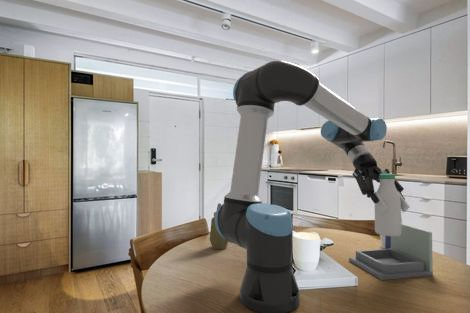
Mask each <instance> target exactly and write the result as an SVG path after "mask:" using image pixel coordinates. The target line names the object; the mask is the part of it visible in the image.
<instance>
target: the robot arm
mask: <svg viewBox="0 0 470 313" xmlns="http://www.w3.org/2000/svg"><path fill="white" fill-rule="evenodd" d="M232 96H233V100H234V101H235V104H236V111H237V113H238V114H240V119H239V127H238V132H237V141H236V149H235V154H234V155H235V156H234V162H233V168H232V169H233V170H232V177H231V184H230V190H229V192H228V193H226V194H225V195H224V198H223V203H221V207H220V208H218V210H217V209H216V211H217V212H216V211H215V212H216V215H215V226H216V229H217V231H218V233H219V234H220V235H221V236H222V237H223V238H224V239H226V240H227V241H228V243H231V244H234V245H236V246H238V247H241V248H242V249H244V250H246V269H245V271H244V275H243V278H242V281H241V283H240V288H239V300H240V302H241V303H242V305H244V306H245V308H248V309H249V310H250V311H253V312H257V313H289V312H292V311H294V310H295V309H297V308H298V307H299V305H300V302H301V300H300V298H301V297H300V288H299V286H298V282H297V280H296V276H295V273H294V269H293V241H294V240H293V235H294V234H293V230H294V226H293V219H292V218H293V217H292V214H291V212H290V211H289V210H288V209H287V208H285V207H283V206H281V205H277V204H269V203H263V200H262V199H261V197H260V195H259V191H260V184H261V183H260V182H261V175H262V167H263V160H264V159H263V158H264V152H265V144H266V137H267V136H266V135H267V129H268V127H267V126H268V120H269V119H270V118H271V117H272V116H274V113H275V112H274V111H275V105H276V103H277V104H278V103H280V102H289V103H293V104H295V105H297V106H300V107H301V106H304V107H306V108H308V109H310V110H311V111H312V112H315V113H316V114H317V115H320V116H321V117H322V118H324V119H326V120H327V121H325V122H324V123H323V124H322V126H321V127H320V128H321V129H320V135H321V137H322V138H324V140H326V141H327V142H330V143H331V144H333V145H335V146H337V147H338V148H340V149H342V150H343V151H344V153H345V154H346V156H347V158H348V159H349V160H350V163H351V164H352V166H353V167H354V170H353V172H352V176H353V178H355V180H356V182H357V185H358V188H359V190H360V192H361V194H362V195H363V196H366V198H369V199H371V201H372V202H373V203H374V204H375V203H376V205H377V207H378V208H379V210H380V211H381V213H384V212H385V211H386V209H387V208H388V207H387V206H386V204H385V203H384V201H383V200H382V198H381V197H380V195H379V194H378V192H377V191H375V186H374V181H375V182H376V183H379V184H380V178H379V174H391V172H390V170H389V169H388V168H385V169H381V167H379V166H378V164H377V163H378V162H377V160H376V159H375V157H374V156H373V154H372V153H371V152H370V150H369V149H368V147H367V146H366V145H365V143H364V142H374V141H376V142H377V141H381V140H383V139H384V138H385V137H386V135H387V132H388V131H387V130H388V127H387V123H386V121H385V120H384V118H381V117H376V118H375V117H373V118H370V117H368V116H367V115H365V114H364V113H363V112H361V111H360V110H358V109H357V108H356V107H354V106H353V105H352V104H350V103H349V102H347V101H346V100H345V99H342V97H340V96H339V95H338V94H336V93H334V92H333V91H331V90H330V89H329V88H327V87H326V86H324V84H321V82H320V79H319V77H318V76H317V75H315V73H312V72H311V71H309V70H308V69H306V68H304V67H302V66H300V65H297V64H295V63H293V62H290V61H285V60H273V61H269V62H267V63H264V65H262V66H259V67H257V68H255V69H254V70H251V71H247V72H245V73H244V74H243V75H242V76H240V77H239V78H238V79H237V80H236V82H235V83H234V86H233V90H232ZM394 184H395V187H396V189H397V191H398V193H399V196H400V200H401V212H403V213H406V212H407V211H408V210H409V208H411V207H410V205H409V204H408V202H407V201H406V198H405V196H404V195H403V194H401V193H402V192H403V191H404V190H405V189H404V187H403V186H402V185H401V184H400V182H398V180H397V179H396V178H395V181H394Z"/></svg>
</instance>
